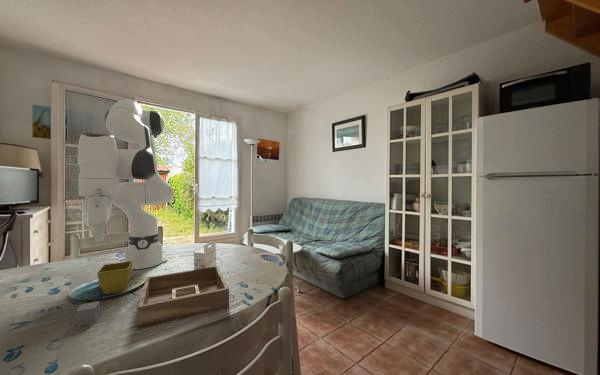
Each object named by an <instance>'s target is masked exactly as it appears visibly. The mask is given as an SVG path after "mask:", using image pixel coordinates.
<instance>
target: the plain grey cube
mask: <svg viewBox="0 0 600 375" xmlns="http://www.w3.org/2000/svg"><path fill="white" fill-rule="evenodd" d="M100 311H101V310H100V300H99V301H93V302H89V303H82V304H80V305H79V307H78V308H77V310H76V311H75V312H76V327H77V326H78V327H80V326H79V325H83V326H85V325H84V324H88V325H91V324H90V323H92V324H96V323H97V321H98V319H99V318H100V315H101V314H100V313H101V312H100ZM98 317H99V318H98ZM95 322H96V323H95Z"/></svg>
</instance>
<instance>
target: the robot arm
mask: <svg viewBox="0 0 600 375" xmlns="http://www.w3.org/2000/svg"><path fill="white" fill-rule="evenodd" d="M104 124H105V127H106V130H107V131H108V132H109V133H110V134H109V133H93V132H86V133H82V134H80V137H79V141H78V145H77V165H78V167H79V174H78V179H77V180H78V182H77V184H78V196H79V197H84V198H85V200H84V201H85V203H87V223H88V225H89V227H93V233H94V239H95V242H102V241H104V240H105V235H107V225H108V222H109V220H110V218H111V214H112V208H113V207H112V206H113V205H114V206H115V207H118V208H119V210H121V211H122V212H123V213H124V214H125V215H126V217H127V220H128V227H129V228H128V229H129V235H128V240H127V241H128V246H127V247H126V248H124V260H123V262H128V261H132V270H141V269H148V268H152V267H155V266H157V265H158V266H159V265H160V264H162V263H165V262H166V263H167V262H168V258H167V257H166V255H165V254H164V251H163V244H162V243H160V241H159V240H160V234H159V231H158V228H159V227H158V225H159V224H158V222H159V221H158V218H157V216H156V215H155V214H153V213H151V212H148V211H145V210H143V206H154V205H155V206H156V205H164V204H169V203H170V202H172V200H173V198H174V197H175V189H174V188H173V186H172V185H171V184H170V183H168V182H167V181H166V180H164V179H163V177H162V176H161V174H160V173H159V170H158V162H157V161H158V160H157V159H156V156H157V155H156V146H155V145H156V144H155V140H154V139H156V138H158V137H159V136H160V135H161V134H162V132H163V131H164V128H165V120H164V118H163V115H162V114H161V113H160V112H159V111H156V110H146V109H142V107H141V106H140V104H139V103H137V102H136V101H135V100H132V99H127V98H125V99H119V100H117V102H115V103H114V105H113V106H112V107H111V108H110V109H108V110H107V111H106V112H105V115H104ZM116 139H117V140H119V141H123V142H127V149H126V148H124V149H122V148H118V146H117V141H116ZM125 179H126V180H133V179H134V180H142V181H141V182H140V181H136V182H134V181H133V182H132V181H127V182H126V181H125V182H120V180H125ZM143 180H144V181H143Z"/></svg>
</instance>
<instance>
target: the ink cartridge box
mask: <svg viewBox="0 0 600 375" xmlns="http://www.w3.org/2000/svg"><path fill="white" fill-rule="evenodd" d="M193 266H194V267H193V270H196V269H202V268H209V267H215V266H217V246H216V240H212V241H210V242H208V243H205V244H204V245H203V247H202V248H200V249H198V250H196V251H193Z"/></svg>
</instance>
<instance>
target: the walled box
mask: <svg viewBox="0 0 600 375" xmlns="http://www.w3.org/2000/svg"><path fill="white" fill-rule="evenodd" d="M142 288H143V289H142V292H141V295H140V299H139V303H138V306H137V327H138V328H137V330H141V329H146V328H149V327H152V326H158V325H163V324H166V323H170V322H174V321H178V320H182V319H187V318H191V317H195V316H198V315H203V314H206V313H212V312H216V311H220V310H224V309H228V308H230V288H229V285H228V284H227V282H226V279H225V278H224V276H223V273H222V272H221V270H220V268H219V266H218V265H216V266H215V267H209V268H202V269H196V270H194V269H191V270H185V271H178V272H172V273H166V274H158V275H153V276H146V279H145V281H144V285H143V287H142Z"/></svg>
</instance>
